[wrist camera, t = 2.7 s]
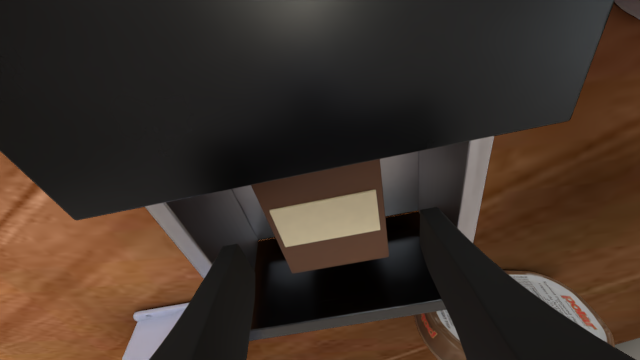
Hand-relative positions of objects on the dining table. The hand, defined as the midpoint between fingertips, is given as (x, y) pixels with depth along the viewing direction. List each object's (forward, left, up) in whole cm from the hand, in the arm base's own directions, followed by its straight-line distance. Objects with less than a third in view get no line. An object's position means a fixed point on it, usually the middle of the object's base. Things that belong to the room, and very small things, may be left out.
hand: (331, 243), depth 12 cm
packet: (0, 0, -5) cm, 5 cm away
